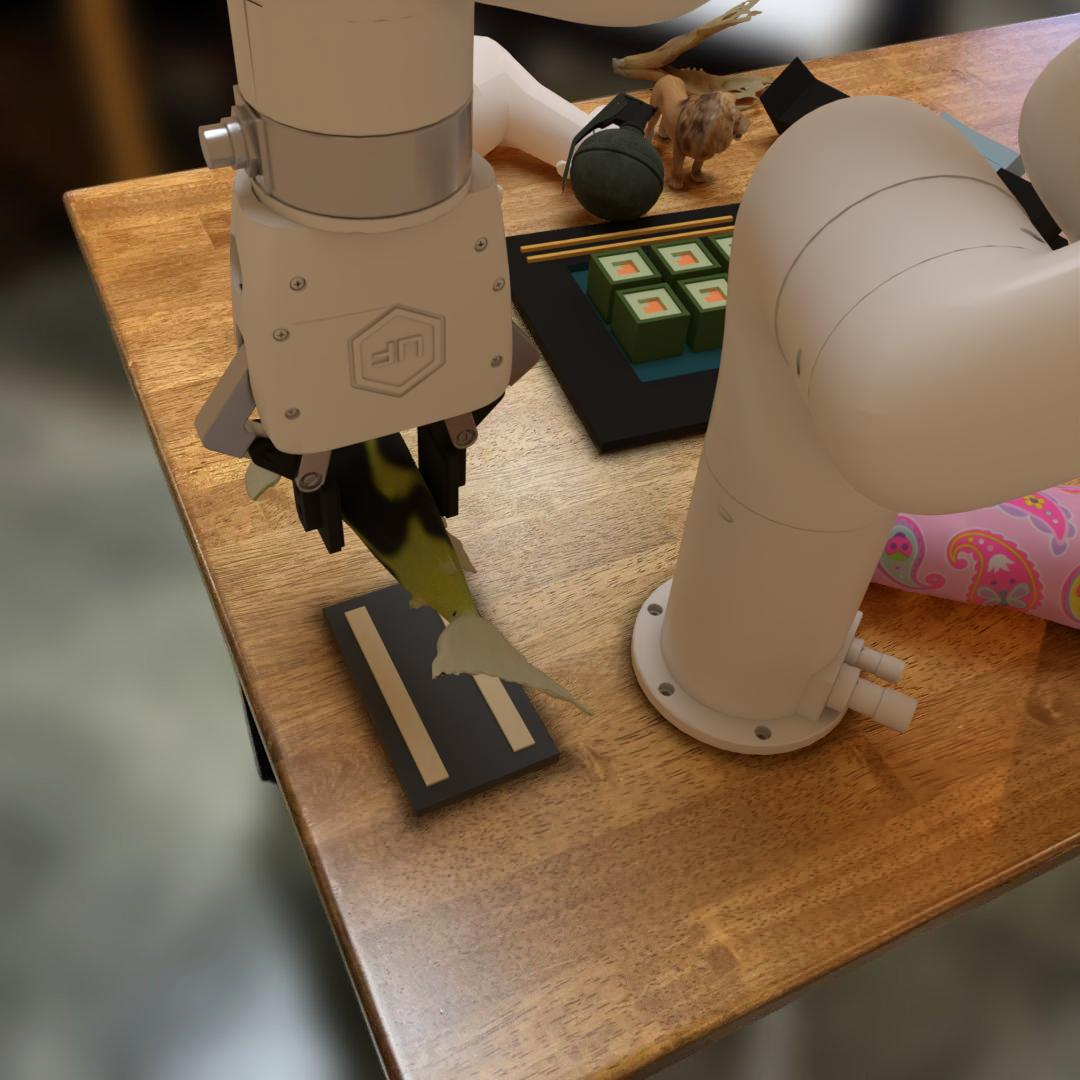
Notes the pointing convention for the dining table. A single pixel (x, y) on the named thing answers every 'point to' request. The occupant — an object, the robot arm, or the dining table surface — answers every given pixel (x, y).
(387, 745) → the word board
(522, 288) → the sushi
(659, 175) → the grenade
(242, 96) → the robot arm
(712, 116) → the lion figurine
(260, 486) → the fish
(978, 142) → the toy
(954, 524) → the pencil case
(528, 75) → the faucet
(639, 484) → the dining table surface
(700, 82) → the jawbone
